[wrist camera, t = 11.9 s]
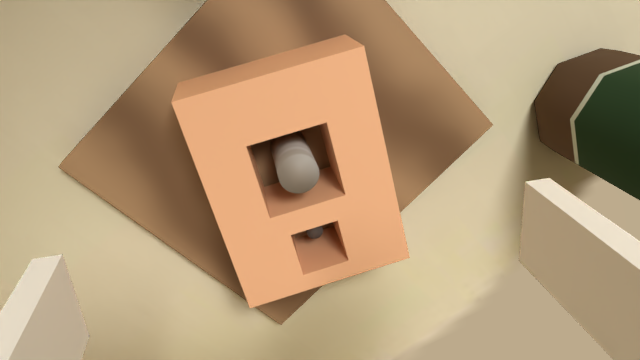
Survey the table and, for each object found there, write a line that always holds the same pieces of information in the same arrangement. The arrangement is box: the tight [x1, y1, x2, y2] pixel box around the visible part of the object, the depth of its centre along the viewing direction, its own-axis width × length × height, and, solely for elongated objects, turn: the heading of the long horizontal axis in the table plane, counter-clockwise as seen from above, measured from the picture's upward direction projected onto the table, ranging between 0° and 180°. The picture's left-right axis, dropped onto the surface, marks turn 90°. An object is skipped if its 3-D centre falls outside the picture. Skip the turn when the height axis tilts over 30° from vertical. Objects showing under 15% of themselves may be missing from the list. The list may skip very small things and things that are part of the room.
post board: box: [59, 0, 493, 325], centre depth 31 cm, size 20×18×6 cm
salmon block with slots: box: [171, 35, 410, 308], centre depth 31 cm, size 13×10×4 cm
